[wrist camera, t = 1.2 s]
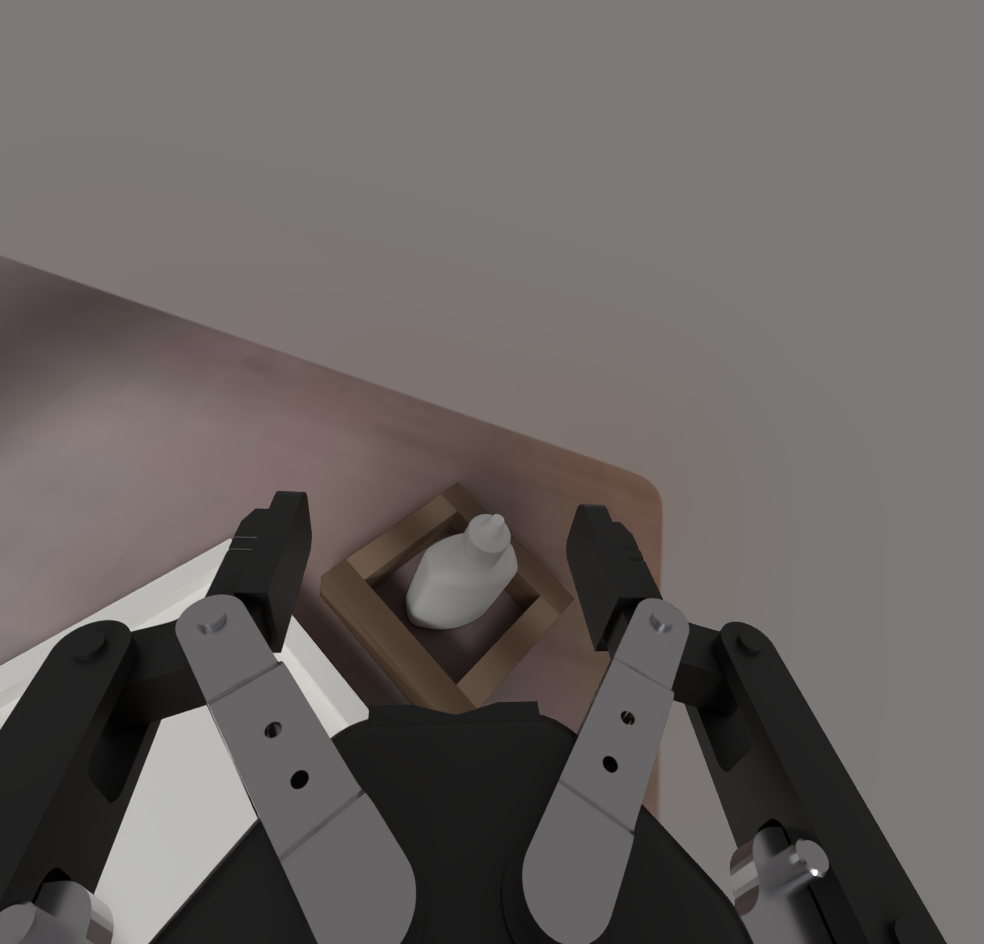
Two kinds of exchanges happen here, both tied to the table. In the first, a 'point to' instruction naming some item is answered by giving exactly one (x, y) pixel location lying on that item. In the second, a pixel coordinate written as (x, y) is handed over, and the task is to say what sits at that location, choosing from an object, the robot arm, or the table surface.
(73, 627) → the tray
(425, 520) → the walnut holder
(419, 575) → the eye dropper bottle
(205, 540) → the table surface
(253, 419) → the table surface
